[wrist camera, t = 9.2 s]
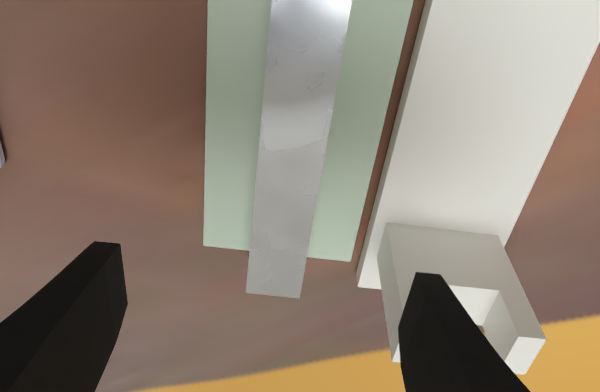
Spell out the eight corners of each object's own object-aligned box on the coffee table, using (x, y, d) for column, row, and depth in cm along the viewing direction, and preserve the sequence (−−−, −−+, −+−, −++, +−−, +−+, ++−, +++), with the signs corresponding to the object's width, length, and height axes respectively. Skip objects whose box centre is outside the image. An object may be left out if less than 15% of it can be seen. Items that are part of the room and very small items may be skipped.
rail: (250, 259, 24) (245, 292, 23) (295, -224, 14) (292, -234, 12) (300, 264, 24) (299, 298, 23) (381, -210, 14) (389, -218, 12)
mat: (204, 240, 24) (203, 245, 24) (214, -213, 15) (212, -215, 14) (349, 255, 25) (350, 261, 24) (453, -177, 15) (456, -178, 15)
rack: (356, 272, 25) (367, 392, 20) (481, -218, 14) (583, -255, 9) (474, 285, 25) (518, 406, 20) (684, -186, 15) (905, -201, 9)
